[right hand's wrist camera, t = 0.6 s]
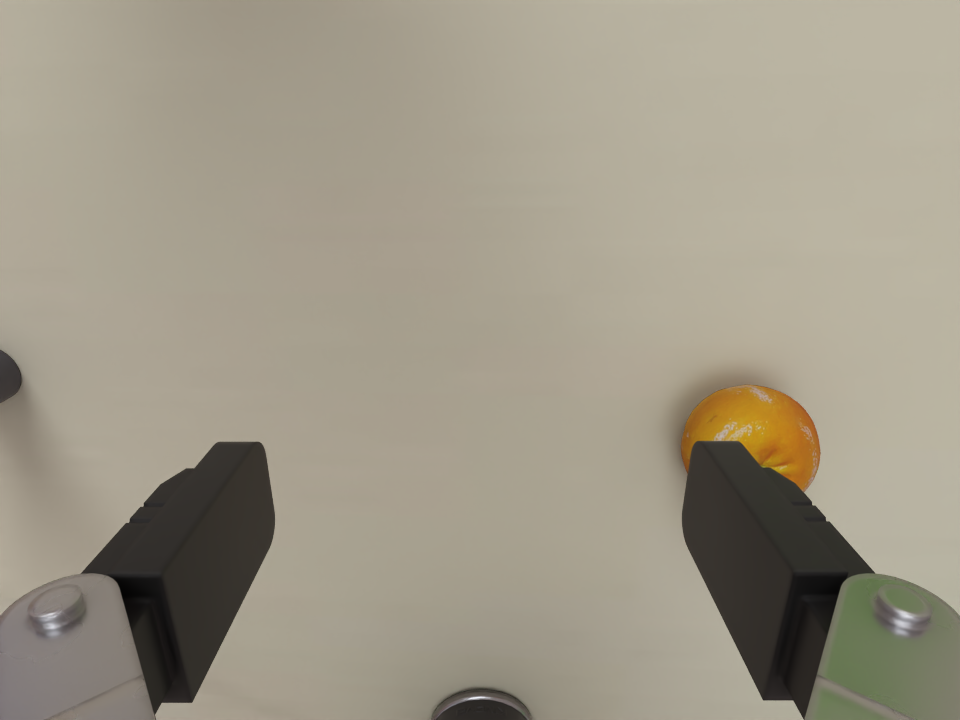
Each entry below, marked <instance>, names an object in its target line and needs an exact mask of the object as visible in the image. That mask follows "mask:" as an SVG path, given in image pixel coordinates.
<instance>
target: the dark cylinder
mask: <svg viewBox="0 0 960 720" xmlns="http://www.w3.org/2000/svg"><path fill="white" fill-rule="evenodd" d="M20 384H21V375H20V371H19V369H18V367H17V365H16V364H15V362H14V361H13V360H12V359H11V358H10V357H9V356H8V355H7V354H6V353H4V352H3V351H1V350H0V403H1V402H3V401H5V400H6V399H8V398H10V397H11V396H13V395H14V394H15V393H16V392H17V391H18V389H19V387H20Z"/></svg>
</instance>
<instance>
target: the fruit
mask: <svg viewBox="0 0 960 720" xmlns="http://www.w3.org/2000/svg"><path fill="white" fill-rule="evenodd" d="M696 441H739V442H741V443H742V444H743V445H744V447H745V448H746V449H747V450H748V451H749V453H750V454H751V455H752V456H753V457H754V459H755V460H756V461H757V462H758V463H759V465H760V466H761V467H770V468H772V469H773V470H775V471H777V472H778V473H780V474H781V475H783V476H785V477H786V478H788V479H789V480H791V481H793V482H794V483H796V484H797V486H798V487H799V488H800V489H801V490H802V491H803V492H805V490H806V489H807V488H808V487H809V485H810V484H811V483H812V481H813V479H814V477H815V475H816V473H817V470H818V466H819V461H820V445H819V439H818V435H817V431H816V428H815V425H814V423H813V421H812V419H811V418H810V416H809V415H808V413H807V412H806V410H805V409H804V408H803V407H802V406H801V405H800V404H799V403H798V402H796V401H795V400H793V399H792V398H791V397H789V396H787V395H786V394H783V393H781V392H779V391H776V390H773V389H770V388H767V387H761V386H757V385H740V386H735V387H730V388H726V389H722V390H719V391H717V392H715V393H713V394H711V395H710V396H708V397H707V398H705V399H704V400H703V401H702V402H701V403H700V404H699V405H698V406H697V407H696V408H695V409H694V410H693V411H692V413H691V415H690V416H689V418H688V420H687V422H686V425H685V429H684V433H683V436H682V441H681V454H682V459H683V462H684V465H685V468H686V471H687V473H688V469H689V462H690V456H691V450H692V447H693V445H694V443H695V442H696Z"/></svg>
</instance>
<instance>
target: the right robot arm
mask: <svg viewBox="0 0 960 720" xmlns="http://www.w3.org/2000/svg"><path fill="white" fill-rule="evenodd" d="M274 527H275V512H274V505H273V498H272V492H271V485H270V478H269V472H268V465H267V458H266V453H265V449H264V447H263V445H262V444H261V443H260V442H217V443H216V444H215V445H214V446H213V447H212V448H211V449H210V450H209V452H208V453H207V454H206V455H205V456H204V458H203V459H202V460H201V461H200V462H199V464H198V465H197V466H196V467H195V468H194V469H185V470H183V471H181V472H180V473H178V474H177V475H175V476H173V477H172V478H170V479H169V480H167V481H165V482H164V483H162V484H161V485H160V486H159V487H158V488H157V489H156V490H155V491H154V492H153V494H152V495H151V496H150V497H149V498H148V499H147V500H146V501H145V502H144V507H140V508H139V509H138V510H137V511H136V513H135V514H134V515H133V516H132V517H131V518H130V522H129V523H126V524H125V525H124V526H123V527H122V528H121V529H120V530H119V532H118V533H117V534H116V535H115V536H114V537H113V538H112V539H111V540H110V542H109V543H108V544H107V545H106V546H105V547H104V548H103V549H102V551H101V552H100V553H99V554H98V555H97V556H96V557H95V558H94V559H93V561H92V562H91V563H90V564H89V565H88V566H87V567H86V568H85V570H84V571H83V572H82V573H81V574H78V575H72V576H68V577H64V578H61V579H58V580H54V581H52V582H49V583H47V584H44V585H42V586H40V587H38V588H36V589H34V590H32V591H31V592H29V593H27V594H26V595H24V596H22V597H21V598H20V599H18V600H17V601H15V602H14V603H13V604H12V605H11V606H9V607H8V608H7V609H6V610H5V611H4V612H3V613H2V615H1V616H0V720H156V718H155V714H156V712H157V710H158V708H159V707H160V705H161V703H192V702H193V700H194V698H195V696H196V694H197V692H198V690H199V688H200V686H201V684H202V682H203V680H204V678H205V676H206V674H207V672H208V670H209V668H210V666H211V664H212V662H213V660H214V658H215V656H216V654H217V652H218V650H219V648H220V646H221V644H222V642H223V640H224V638H225V636H226V634H227V632H228V630H229V628H230V626H231V624H232V622H233V620H234V618H235V616H236V614H237V612H238V610H239V608H240V606H241V604H242V602H243V600H244V598H245V596H246V594H247V592H248V590H249V588H250V586H251V584H252V582H253V580H254V578H255V576H256V574H257V572H258V570H259V568H260V566H261V564H262V562H263V560H264V558H265V556H266V554H267V552H268V550H269V548H270V546H271V543H272V539H273V534H274ZM682 527H683V534H684V538H685V542H686V545H687V547H688V549H689V551H690V553H691V555H692V557H693V559H694V561H695V563H696V565H697V567H698V569H699V571H700V573H701V575H702V577H703V579H704V581H705V583H706V586H707V588H708V590H709V592H710V594H711V596H712V598H713V600H714V602H715V604H716V606H717V608H718V610H719V612H720V614H721V616H722V618H723V620H724V622H725V624H726V626H727V628H728V630H729V632H730V634H731V636H732V638H733V640H734V642H735V644H736V646H737V648H738V650H739V652H740V654H741V656H742V658H743V660H744V662H745V664H746V666H747V668H748V670H749V673H750V675H751V677H752V679H753V681H754V683H755V685H756V687H757V689H758V691H759V693H760V695H761V697H762V699H763V700H793V701H794V702H795V704H796V706H797V708H798V710H799V712H800V713H801V715H802V717H803V719H804V720H960V616H959V615H958V613H957V612H956V611H955V610H954V609H953V608H952V607H951V606H949V605H948V604H947V603H946V602H945V601H943V600H942V599H940V598H939V597H938V596H936V595H934V594H933V593H931V592H929V591H928V590H926V589H924V588H922V587H920V586H918V585H916V584H913V583H911V582H908V581H906V580H902V579H899V578H896V577H892V576H888V575H882V574H875V572H874V571H873V570H872V569H871V568H870V567H869V566H868V565H867V563H866V562H865V561H864V560H863V559H862V558H861V557H860V556H859V554H858V553H857V552H856V551H855V550H854V549H853V548H852V546H851V545H850V544H849V543H848V542H847V541H846V540H845V539H844V537H843V536H842V535H841V534H840V533H839V532H838V531H837V530H836V528H835V527H834V526H833V525H832V524H831V523H830V522H826V517H825V516H824V515H823V514H822V513H821V512H820V510H819V509H818V508H817V507H816V506H812V501H811V500H810V499H809V498H808V497H807V496H806V495H805V493H804V492H803V491H802V490H801V489H800V488H799V487H798V486H797V484H796V483H794V482H793V481H791V480H789V479H788V478H786V477H785V476H783V475H781V474H780V473H778V472H777V471H775V470H773V469H772V468H770V467H761V466H760V465H759V463H758V462H757V461H756V460H755V459H754V457H753V456H752V455H751V454H750V453H749V451H748V450H747V449H746V448H745V447H744V445H743V444H742V443H741V442H739V441H696V442H695V443H694V445H693V447H692V450H691V456H690V462H689V469H688V476H687V483H686V490H685V496H684V503H683V510H682ZM431 720H532V718H531V715H530V713H529V711H528V710H527V708H526V707H525V706H524V705H523V704H522V703H521V702H520V701H518V700H517V699H515V698H514V697H512V696H510V695H508V694H505V693H502V692H499V691H494V690H485V689H478V690H469V691H464V692H461V693H458V694H455V695H453V696H451V697H449V698H448V699H446V700H445V701H443V702H442V703H441V704H440V705H439V706H438V707H437V708H436V710H435V711H434V713H433V715H432V718H431Z"/></svg>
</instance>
